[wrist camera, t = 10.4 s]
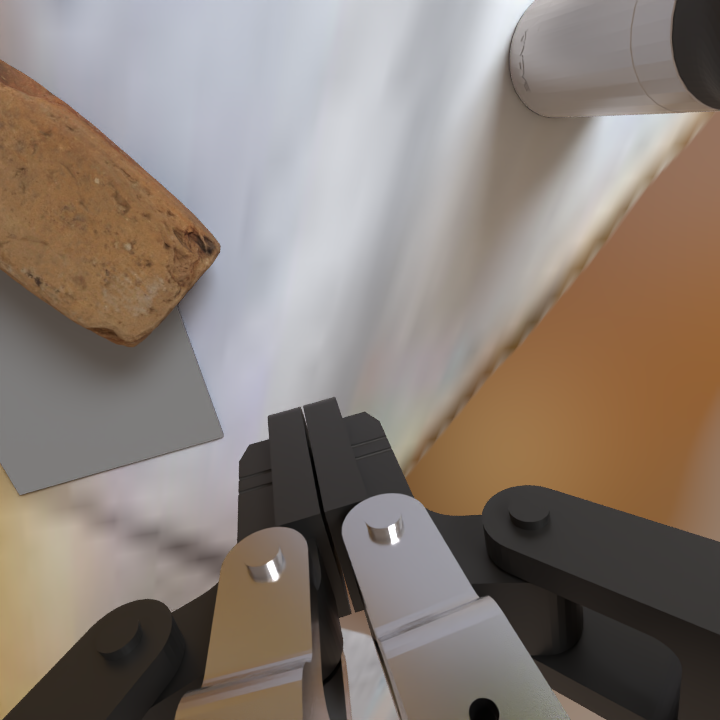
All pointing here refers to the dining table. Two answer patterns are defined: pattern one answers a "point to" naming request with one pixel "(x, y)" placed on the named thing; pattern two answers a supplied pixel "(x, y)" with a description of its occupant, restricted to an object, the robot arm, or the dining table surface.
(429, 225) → the dining table surface
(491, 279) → the dining table surface
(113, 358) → the mat
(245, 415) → the dining table surface
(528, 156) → the dining table surface
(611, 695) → the robot arm
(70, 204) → the sandstone rock
